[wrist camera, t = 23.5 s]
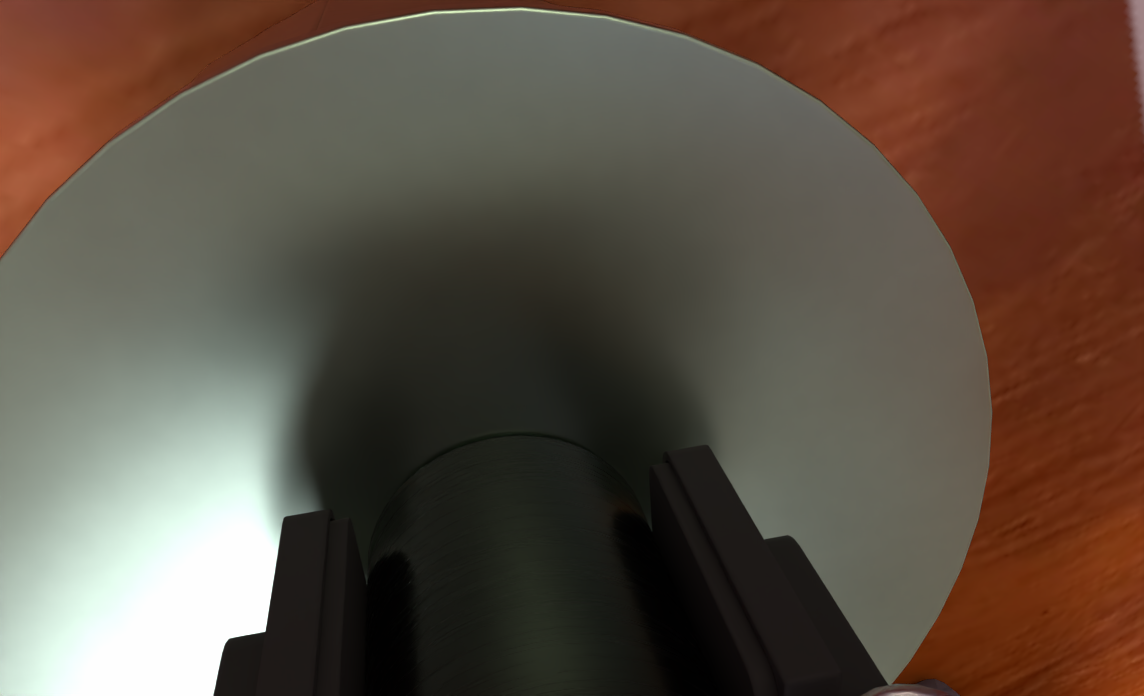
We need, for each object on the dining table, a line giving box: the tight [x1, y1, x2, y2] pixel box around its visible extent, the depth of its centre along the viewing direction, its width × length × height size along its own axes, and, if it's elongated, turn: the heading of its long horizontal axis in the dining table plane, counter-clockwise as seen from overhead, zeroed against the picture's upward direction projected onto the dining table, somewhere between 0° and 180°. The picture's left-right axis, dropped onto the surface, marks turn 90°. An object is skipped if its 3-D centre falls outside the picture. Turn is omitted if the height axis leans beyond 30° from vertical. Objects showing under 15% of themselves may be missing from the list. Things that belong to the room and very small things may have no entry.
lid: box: [0, 2, 992, 696], centre depth 10 cm, size 13×13×7 cm
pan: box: [191, 0, 558, 83], centre depth 17 cm, size 12×12×5 cm
